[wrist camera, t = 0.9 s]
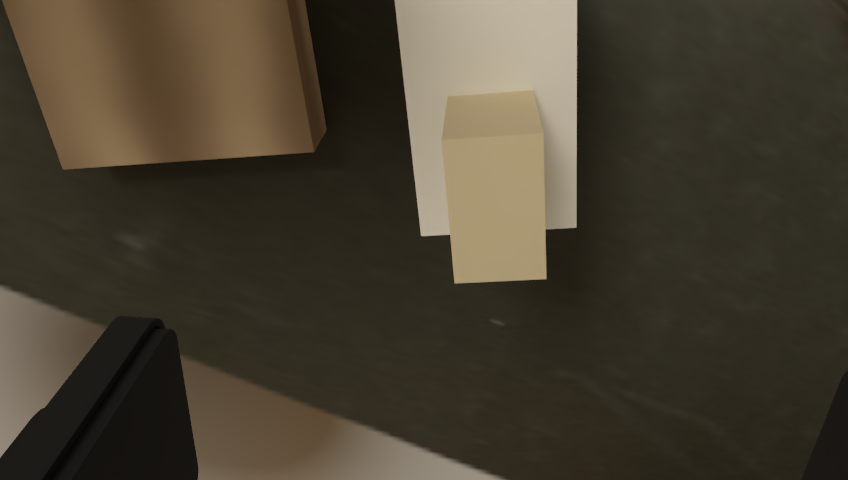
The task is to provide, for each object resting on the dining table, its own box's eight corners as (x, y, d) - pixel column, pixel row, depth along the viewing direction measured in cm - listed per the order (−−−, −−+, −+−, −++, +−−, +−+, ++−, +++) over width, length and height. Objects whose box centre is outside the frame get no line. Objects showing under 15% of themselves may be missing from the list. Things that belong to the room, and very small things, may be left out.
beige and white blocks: (553, -73, 29) (598, -36, 18) (556, 152, 34) (593, 289, 23) (411, -58, 30) (371, -14, 19) (433, 160, 35) (411, 298, 24)
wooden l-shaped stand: (339, -259, 27) (-28, -586, 7) (387, 125, 34) (265, 473, 14) (-94, -202, 29) (-1279, -342, 9) (38, 150, 36) (-483, 487, 16)
